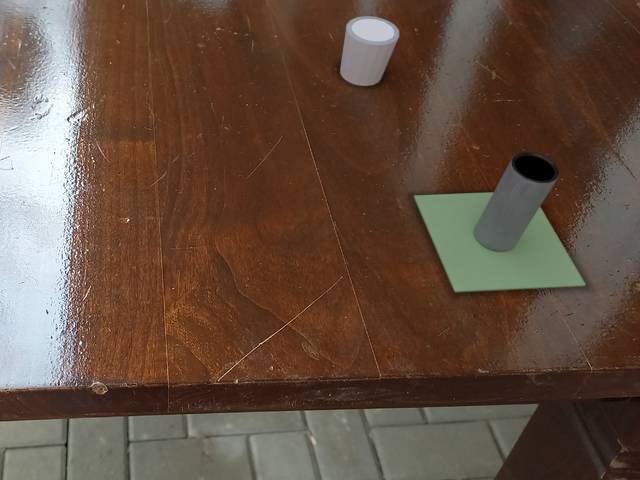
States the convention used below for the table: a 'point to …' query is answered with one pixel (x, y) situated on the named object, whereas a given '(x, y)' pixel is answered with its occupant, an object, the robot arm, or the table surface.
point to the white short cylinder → (367, 49)
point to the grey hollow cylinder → (515, 200)
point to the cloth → (487, 265)
